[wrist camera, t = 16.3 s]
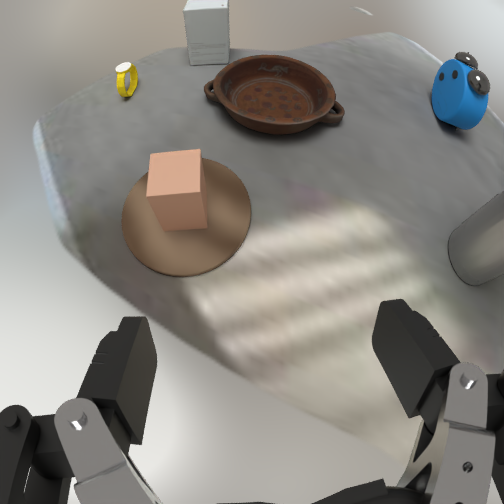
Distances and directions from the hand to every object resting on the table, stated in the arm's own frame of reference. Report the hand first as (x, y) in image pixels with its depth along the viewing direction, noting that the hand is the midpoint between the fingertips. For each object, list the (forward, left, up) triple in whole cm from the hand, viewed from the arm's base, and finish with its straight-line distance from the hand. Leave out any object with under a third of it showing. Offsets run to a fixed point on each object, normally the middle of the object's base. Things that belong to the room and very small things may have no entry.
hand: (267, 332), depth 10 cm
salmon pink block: (-9, -16, -22) cm, 28 cm away
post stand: (-9, -16, -23) cm, 29 cm away
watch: (-22, -41, -23) cm, 52 cm away
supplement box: (-38, -36, -23) cm, 57 cm away
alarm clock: (-56, +8, -23) cm, 61 cm away
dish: (-32, -18, -24) cm, 43 cm away
